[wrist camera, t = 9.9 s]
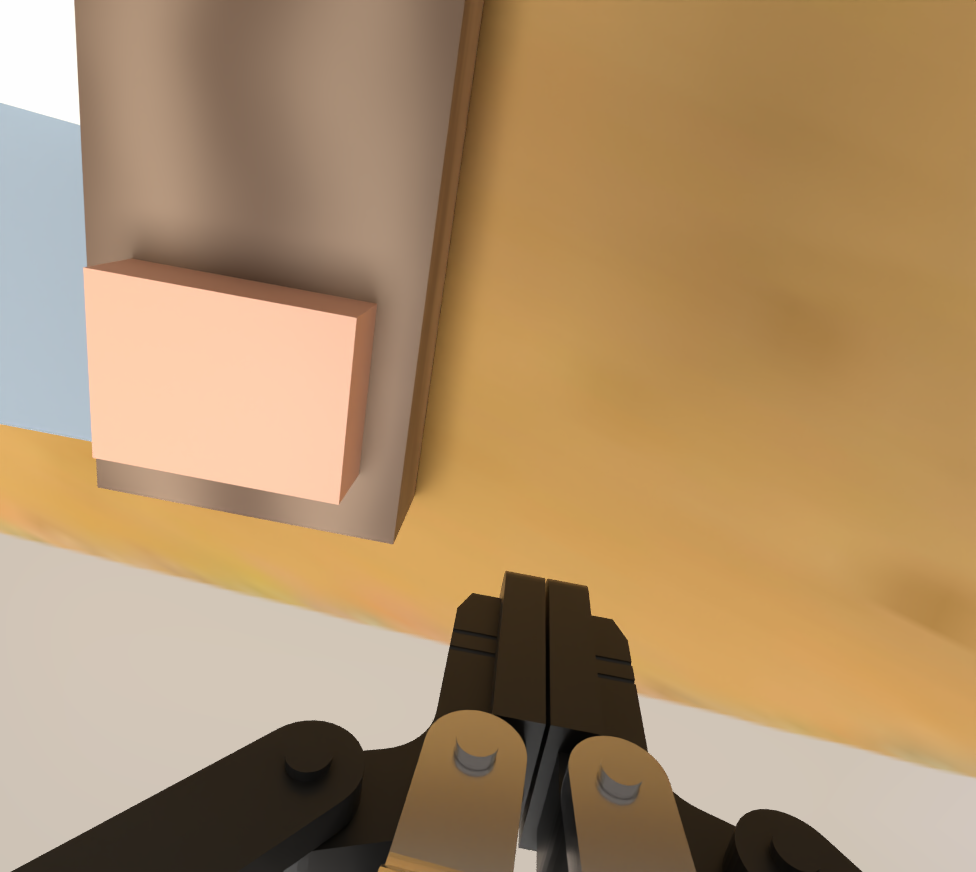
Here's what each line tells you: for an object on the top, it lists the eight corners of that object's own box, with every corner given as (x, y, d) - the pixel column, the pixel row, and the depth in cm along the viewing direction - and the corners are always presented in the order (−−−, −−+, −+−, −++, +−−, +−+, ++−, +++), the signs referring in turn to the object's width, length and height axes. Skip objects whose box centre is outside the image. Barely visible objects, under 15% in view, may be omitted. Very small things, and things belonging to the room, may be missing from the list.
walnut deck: (495, -77, 21) (482, -133, 17) (414, 496, 28) (393, 544, 24) (150, -136, 21) (64, -203, 18) (157, 447, 28) (97, 487, 25)
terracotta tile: (377, 303, 21) (356, 317, 19) (359, 474, 24) (339, 504, 21) (131, 258, 22) (83, 267, 19) (135, 431, 24) (93, 457, 22)
